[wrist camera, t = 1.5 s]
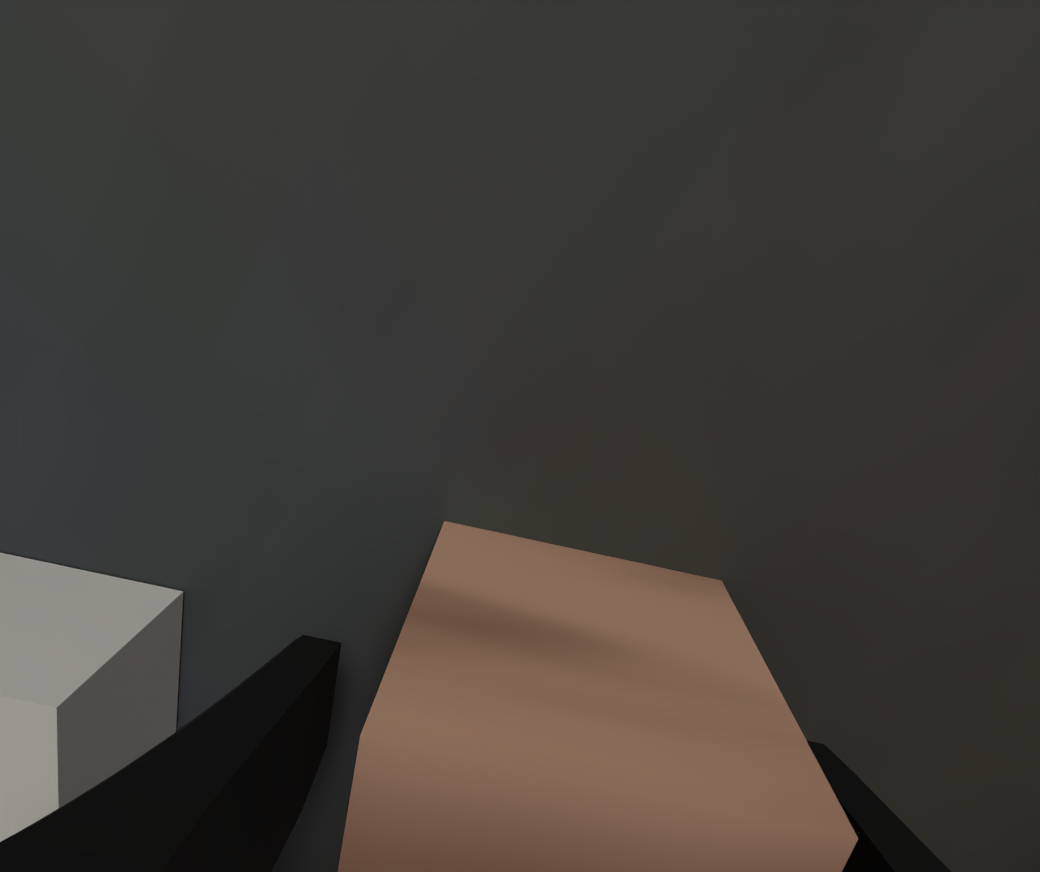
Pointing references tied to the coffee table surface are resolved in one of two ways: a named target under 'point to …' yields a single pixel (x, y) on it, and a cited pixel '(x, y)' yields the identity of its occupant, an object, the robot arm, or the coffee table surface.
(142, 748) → the plinth
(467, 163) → the coffee table surface
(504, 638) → the terracotta cube
